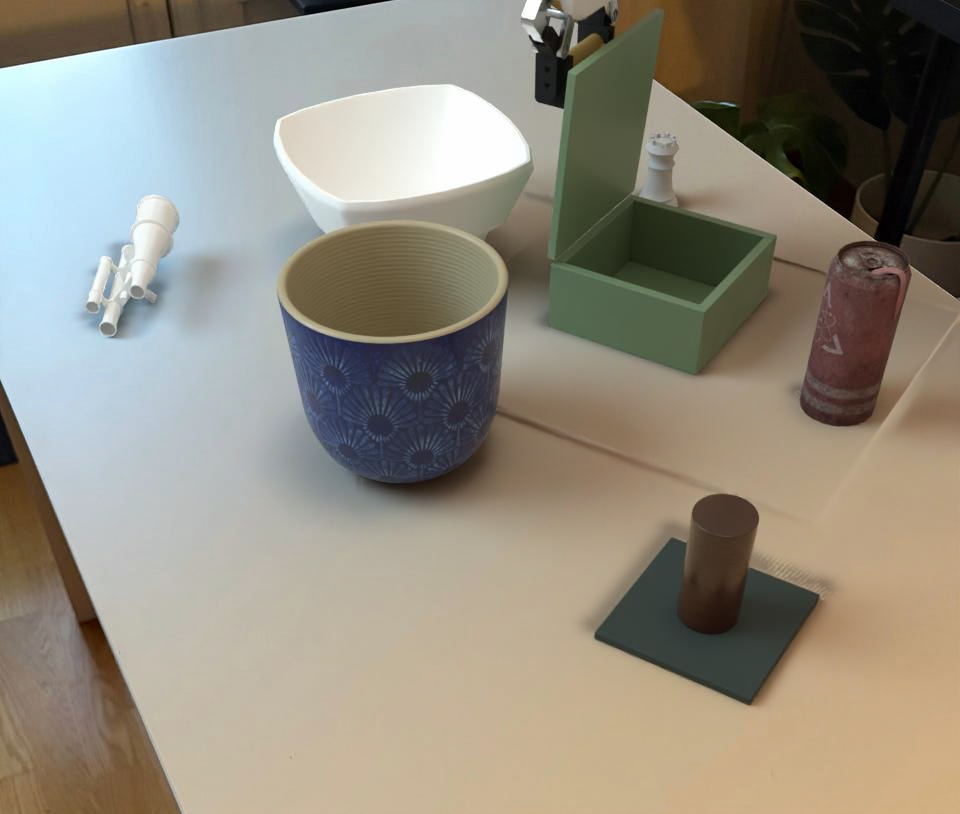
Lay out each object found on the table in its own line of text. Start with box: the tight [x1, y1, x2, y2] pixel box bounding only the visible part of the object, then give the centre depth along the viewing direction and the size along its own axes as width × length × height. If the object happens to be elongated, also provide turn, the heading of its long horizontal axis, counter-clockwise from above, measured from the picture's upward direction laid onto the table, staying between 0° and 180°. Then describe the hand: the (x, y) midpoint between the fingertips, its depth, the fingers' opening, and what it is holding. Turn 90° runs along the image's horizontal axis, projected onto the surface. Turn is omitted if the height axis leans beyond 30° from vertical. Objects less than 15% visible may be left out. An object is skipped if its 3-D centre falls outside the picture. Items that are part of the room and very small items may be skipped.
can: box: [799, 240, 913, 428], centre depth 97 cm, size 6×6×14 cm
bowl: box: [272, 83, 535, 242], centre depth 115 cm, size 22×22×12 cm
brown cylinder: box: [677, 493, 760, 634], centre depth 83 cm, size 4×4×9 cm
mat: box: [594, 536, 821, 706], centre depth 87 cm, size 12×12×1 cm
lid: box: [546, 7, 665, 261], centre depth 104 cm, size 16×15×5 cm
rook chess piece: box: [638, 131, 680, 208], centre depth 122 cm, size 4×4×8 cm
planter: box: [276, 220, 509, 484], centre depth 95 cm, size 17×17×15 cm
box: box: [548, 193, 778, 376], centre depth 110 cm, size 15×15×7 cm
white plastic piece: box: [84, 194, 181, 338], centre depth 114 cm, size 8×14×5 cm
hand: (573, 87), depth 102 cm, fingers closed on lid, 6 cm apart
